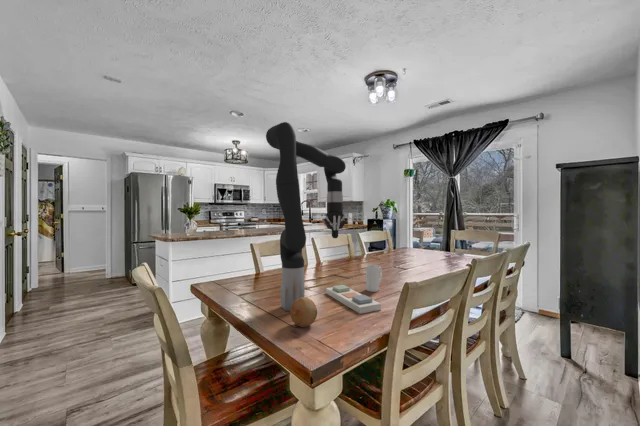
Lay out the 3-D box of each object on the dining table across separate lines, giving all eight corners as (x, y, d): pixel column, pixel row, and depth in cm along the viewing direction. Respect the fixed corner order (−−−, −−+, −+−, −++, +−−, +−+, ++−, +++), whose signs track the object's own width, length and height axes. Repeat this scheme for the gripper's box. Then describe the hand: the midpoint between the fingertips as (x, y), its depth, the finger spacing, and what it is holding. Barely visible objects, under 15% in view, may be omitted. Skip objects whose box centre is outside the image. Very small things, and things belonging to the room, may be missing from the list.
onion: (315, 332, 99) (314, 302, 99) (286, 330, 100) (286, 301, 100) (319, 321, 108) (319, 294, 108) (293, 319, 110) (293, 293, 110)
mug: (371, 292, 143) (371, 268, 143) (362, 289, 149) (362, 265, 149) (387, 289, 148) (387, 265, 148) (377, 286, 154) (377, 263, 154)
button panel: (359, 313, 115) (359, 307, 115) (326, 293, 143) (326, 288, 143) (380, 309, 120) (380, 303, 120) (344, 290, 147) (344, 285, 147)
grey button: (360, 305, 119) (360, 300, 119) (352, 301, 124) (352, 296, 124) (372, 303, 121) (372, 298, 121) (364, 299, 127) (364, 294, 127)
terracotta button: (348, 302, 127) (348, 297, 127) (341, 298, 133) (341, 293, 133) (360, 300, 130) (360, 295, 130) (353, 296, 135) (353, 292, 135)
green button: (338, 293, 135) (338, 289, 135) (332, 290, 141) (332, 286, 141) (349, 291, 138) (349, 287, 138) (343, 288, 143) (343, 284, 143)
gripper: (325, 201, 133) (326, 239, 133) (351, 201, 139) (351, 238, 139) (318, 201, 140) (319, 238, 140) (343, 201, 145) (343, 236, 146)
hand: (335, 238), depth 140 cm, fingers closed
